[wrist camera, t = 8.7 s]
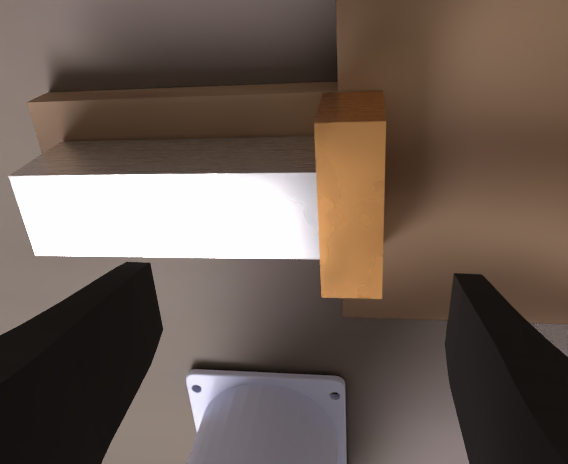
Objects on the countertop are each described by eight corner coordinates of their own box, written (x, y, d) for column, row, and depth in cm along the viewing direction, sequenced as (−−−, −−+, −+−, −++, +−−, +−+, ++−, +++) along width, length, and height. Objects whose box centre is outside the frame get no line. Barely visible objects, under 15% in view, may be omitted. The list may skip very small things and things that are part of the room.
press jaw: (380, 247, 20) (381, 299, 18) (89, 244, 22) (47, 290, 19) (382, 91, 18) (386, 121, 15) (50, 102, 19) (-7, 131, 17)
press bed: (802, 307, 21) (930, 415, 16) (103, 290, 26) (41, 371, 21) (985, -71, 15) (1277, -75, 10) (21, -4, 19) (-93, 14, 15)
